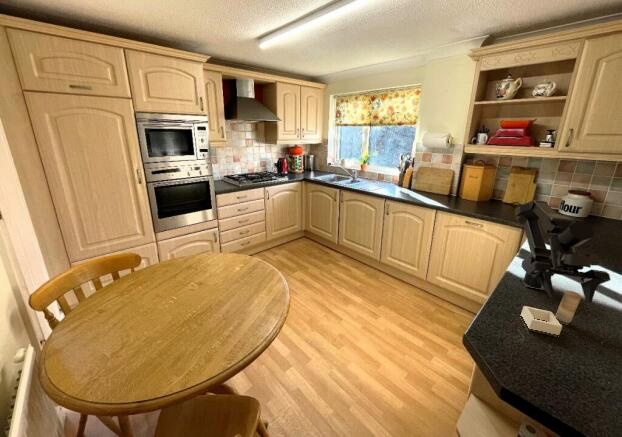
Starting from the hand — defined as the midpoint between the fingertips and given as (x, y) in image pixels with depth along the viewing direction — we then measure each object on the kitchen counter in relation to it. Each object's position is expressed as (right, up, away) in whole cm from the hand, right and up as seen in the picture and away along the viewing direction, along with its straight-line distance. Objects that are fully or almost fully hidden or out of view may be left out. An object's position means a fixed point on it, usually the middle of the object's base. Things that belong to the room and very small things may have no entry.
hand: (570, 300), depth 80 cm
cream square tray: (-10, -8, 0) cm, 13 cm away
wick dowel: (0, -7, +2) cm, 8 cm away
